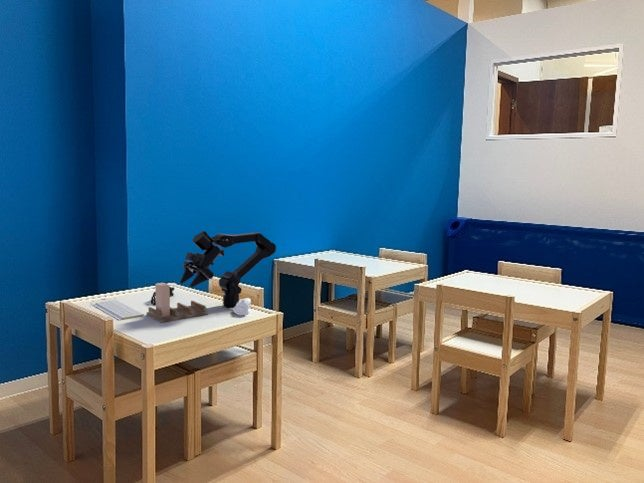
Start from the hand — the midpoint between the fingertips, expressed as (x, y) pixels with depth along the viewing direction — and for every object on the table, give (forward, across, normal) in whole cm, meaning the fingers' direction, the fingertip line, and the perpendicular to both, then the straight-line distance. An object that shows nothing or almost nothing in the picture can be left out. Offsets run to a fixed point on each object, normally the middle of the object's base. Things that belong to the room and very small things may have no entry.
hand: (185, 284), depth 232 cm
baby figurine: (-5, +13, +23) cm, 27 cm away
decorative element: (+8, -29, +11) cm, 32 cm away
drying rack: (+12, 0, +6) cm, 13 cm away
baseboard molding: (+25, -22, -6) cm, 34 cm away
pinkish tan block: (+16, 0, +1) cm, 16 cm away
